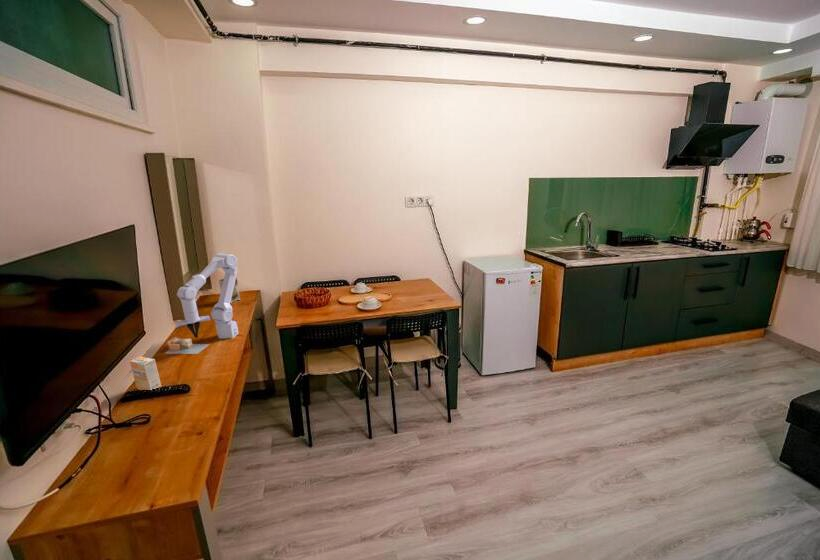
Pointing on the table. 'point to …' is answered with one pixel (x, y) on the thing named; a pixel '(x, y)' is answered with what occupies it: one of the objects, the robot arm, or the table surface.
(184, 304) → the robot arm
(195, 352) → the board
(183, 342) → the beige rectangular block
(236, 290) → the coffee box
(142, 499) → the table surface
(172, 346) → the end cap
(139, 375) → the supplement box
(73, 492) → the table surface
